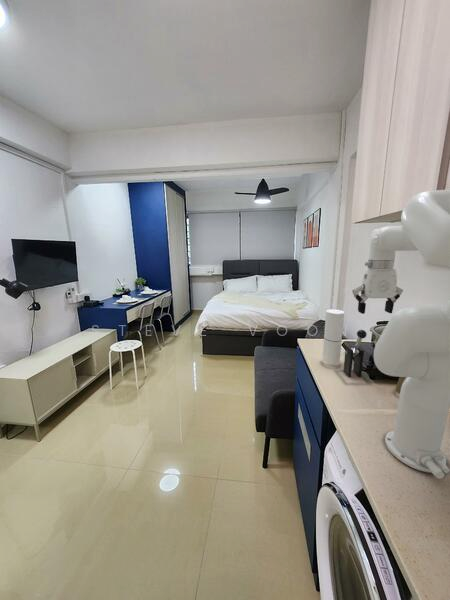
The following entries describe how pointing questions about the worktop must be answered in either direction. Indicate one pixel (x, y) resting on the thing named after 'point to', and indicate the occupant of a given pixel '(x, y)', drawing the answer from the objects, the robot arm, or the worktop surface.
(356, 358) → the bracket
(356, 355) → the lever
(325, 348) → the cylindrical container
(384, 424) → the worktop surface
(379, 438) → the worktop surface
